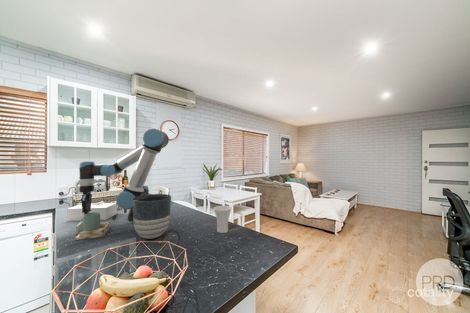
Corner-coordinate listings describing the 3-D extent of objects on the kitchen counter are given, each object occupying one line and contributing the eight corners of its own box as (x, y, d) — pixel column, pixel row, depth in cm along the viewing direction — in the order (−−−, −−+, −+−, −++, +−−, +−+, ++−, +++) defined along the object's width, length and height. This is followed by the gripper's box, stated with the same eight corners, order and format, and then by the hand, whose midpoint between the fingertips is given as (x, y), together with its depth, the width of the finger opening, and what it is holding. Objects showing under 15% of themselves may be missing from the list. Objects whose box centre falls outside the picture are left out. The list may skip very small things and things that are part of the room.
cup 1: (91, 234, 105) (91, 216, 105) (79, 233, 106) (79, 215, 106) (103, 229, 112) (103, 212, 112) (92, 228, 114) (92, 211, 114)
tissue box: (106, 220, 134) (106, 204, 134) (67, 221, 131) (67, 205, 131) (116, 214, 148) (116, 200, 148) (82, 215, 146) (82, 200, 146)
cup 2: (234, 229, 115) (234, 206, 115) (226, 235, 106) (226, 211, 106) (219, 226, 120) (219, 205, 120) (210, 232, 110) (210, 209, 110)
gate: (85, 226, 119) (85, 217, 119) (78, 233, 108) (78, 223, 108) (82, 227, 119) (82, 217, 119) (75, 234, 108) (75, 223, 108)
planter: (178, 232, 110) (178, 195, 111) (153, 247, 92) (153, 202, 92) (151, 228, 117) (151, 193, 117) (123, 241, 98) (123, 199, 99)
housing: (109, 227, 118) (109, 222, 118) (104, 236, 105) (104, 229, 105) (83, 230, 113) (83, 224, 113) (74, 240, 100) (74, 233, 100)
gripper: (83, 184, 128) (83, 219, 128) (75, 186, 116) (75, 226, 116) (96, 183, 131) (96, 218, 131) (90, 186, 119) (90, 224, 118)
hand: (86, 222), depth 123 cm, fingers closed
